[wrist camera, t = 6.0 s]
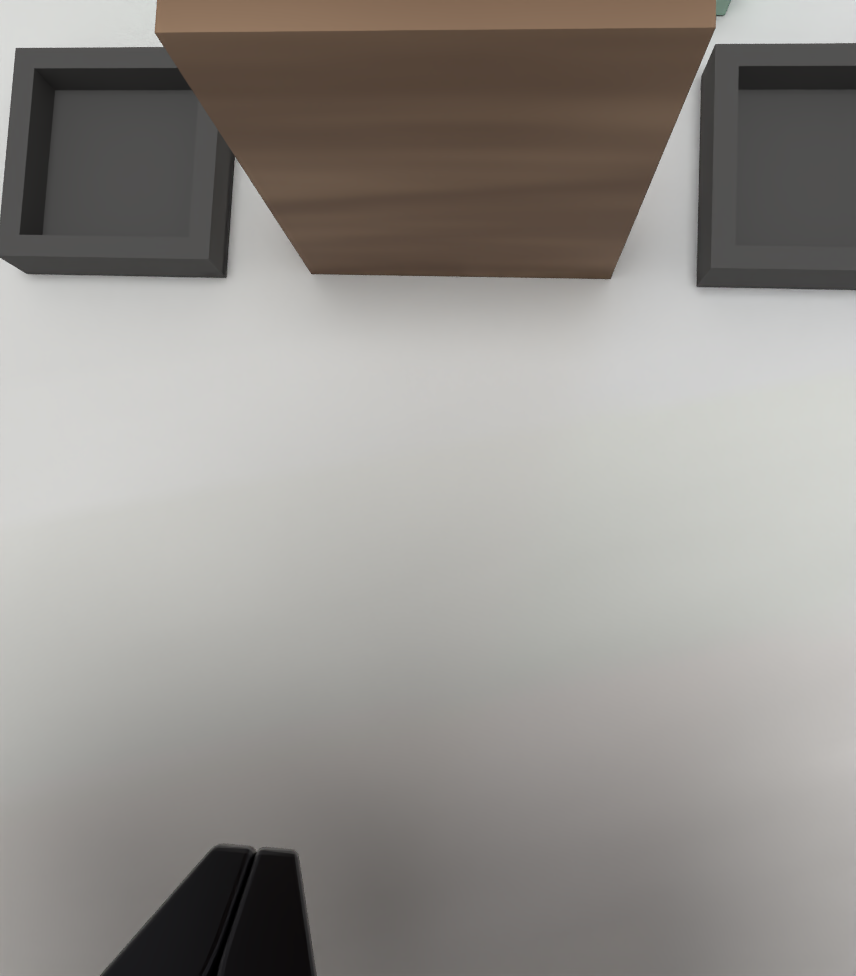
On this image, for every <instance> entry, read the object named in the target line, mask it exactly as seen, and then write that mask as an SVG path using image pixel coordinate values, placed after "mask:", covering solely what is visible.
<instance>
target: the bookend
mask: <svg viewBox="0 0 856 976" xmlns="http://www.w3.org/2000/svg"><path fill="white" fill-rule="evenodd" d="M715 28H716V0H157V9H156V22H155V34H156V35H157V37H158V38H159V40H160V42H161V43H162V45H163V46H164V48H165V49H166V51H167V52H168V54H169V55H170V57H171V58H172V60H173V62H174V63H175V65H176V66H177V68H178V69H179V71H180V72H181V74H182V75H183V77H184V78H185V80H186V82H187V83H188V85H189V86H190V88H191V89H192V91H193V92H194V94H195V95H196V97H197V98H198V100H199V102H200V103H201V105H202V106H203V108H204V109H205V111H206V112H207V114H208V115H209V117H210V118H211V120H212V122H213V123H214V125H215V126H216V128H217V129H218V131H219V132H220V134H221V135H222V137H223V139H224V140H225V142H226V143H227V145H228V146H229V148H230V149H231V151H232V152H233V154H234V155H235V157H236V159H237V160H238V162H239V163H240V165H241V166H242V168H243V169H244V171H245V172H246V174H247V175H248V177H249V179H250V180H251V182H252V183H253V185H254V186H255V188H256V189H257V191H258V192H259V194H260V195H261V197H262V199H263V200H264V202H265V203H266V205H267V206H268V208H269V209H270V211H271V212H272V214H273V215H274V217H275V219H276V220H277V222H278V223H279V225H280V226H281V228H282V229H283V231H284V232H285V234H286V235H287V237H288V239H289V240H290V242H291V243H292V245H293V246H294V248H295V249H296V251H297V252H298V254H299V256H300V257H301V259H302V260H303V262H304V263H305V265H306V266H307V268H308V269H309V271H310V272H311V274H339V275H400V276H460V277H521V278H582V279H611V276H612V274H613V271H614V269H615V267H616V264H617V262H618V259H619V257H620V255H621V252H622V250H623V247H624V245H625V243H626V240H627V238H628V236H629V233H630V231H631V228H632V226H633V224H634V221H635V219H636V216H637V214H638V212H639V209H640V207H641V204H642V202H643V200H644V197H645V195H646V193H647V190H648V188H649V185H650V183H651V181H652V178H653V176H654V173H655V171H656V169H657V166H658V164H659V161H660V159H661V157H662V154H663V152H664V149H665V147H666V145H667V142H668V140H669V138H670V135H671V133H672V130H673V128H674V126H675V123H676V121H677V118H678V116H679V114H680V111H681V109H682V106H683V104H684V102H685V99H686V97H687V95H688V92H689V90H690V87H691V85H692V83H693V80H694V78H695V75H696V73H697V71H698V68H699V66H700V63H701V61H702V59H703V56H704V54H705V52H706V49H707V47H708V44H709V42H710V40H711V37H712V35H713V32H714V30H715Z"/></svg>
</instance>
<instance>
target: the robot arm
mask: <svg viewBox="0 0 856 976" xmlns="http://www.w3.org/2000/svg"><path fill="white" fill-rule="evenodd" d="M100 976H317V974H316V968H315V961H314V954H313V948H312V941H311V934H310V928H309V921H308V914H307V908H306V901H305V894H304V887H303V881H302V874H301V867H300V861H299V856H298V853H297V852H296V851H295V850H293V849H283V848H271V847H263V848H260V849H259V850H258V851H257V852H256V849H255V848H254V847H251V846H246V845H234V844H218V845H216V846H214V847H213V848H212V849H211V850H210V851H209V852H208V853H207V854H206V855H205V857H204V858H203V859H202V860H201V861H200V862H199V863H198V865H197V866H196V867H195V868H194V869H193V870H192V871H191V873H190V874H189V875H188V876H187V877H186V878H185V879H184V880H183V882H182V883H181V884H180V885H179V886H178V887H177V888H176V890H175V891H174V892H173V893H172V894H171V895H170V896H169V898H168V899H167V900H166V901H165V902H164V903H163V904H162V906H161V907H160V908H159V909H158V910H157V911H156V912H155V914H154V915H153V916H152V917H151V918H150V919H149V920H148V921H147V923H146V924H145V925H144V926H143V927H142V928H141V929H140V931H139V932H138V933H137V934H136V935H135V936H134V937H133V939H132V940H131V941H130V942H129V943H128V944H127V945H126V947H125V948H124V949H123V950H122V951H121V952H120V953H119V955H118V956H117V957H116V958H115V959H114V960H113V961H112V962H111V964H110V965H109V966H108V967H107V968H106V969H105V970H104V972H103V973H102V974H101V975H100Z"/></svg>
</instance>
